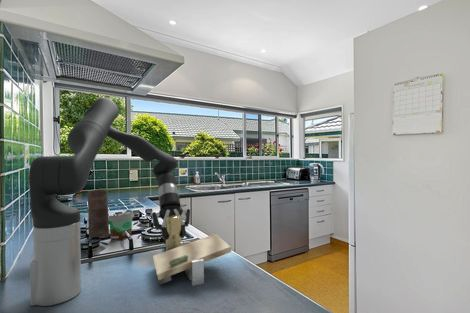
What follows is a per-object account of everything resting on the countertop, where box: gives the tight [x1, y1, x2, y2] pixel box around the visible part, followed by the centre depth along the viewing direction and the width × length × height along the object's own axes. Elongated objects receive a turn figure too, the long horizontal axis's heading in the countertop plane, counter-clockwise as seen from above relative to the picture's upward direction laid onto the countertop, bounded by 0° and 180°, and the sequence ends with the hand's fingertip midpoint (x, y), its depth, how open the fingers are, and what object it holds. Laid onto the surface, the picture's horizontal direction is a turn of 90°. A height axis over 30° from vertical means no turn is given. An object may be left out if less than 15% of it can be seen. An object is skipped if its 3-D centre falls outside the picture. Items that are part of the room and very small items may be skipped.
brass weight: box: [165, 215, 182, 251], centre depth 89 cm, size 5×5×12 cm
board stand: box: [180, 240, 205, 287], centre depth 73 cm, size 3×17×6 cm, turn 22°
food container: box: [108, 209, 135, 241], centre depth 105 cm, size 12×6×10 cm, turn 168°
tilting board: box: [152, 233, 232, 286], centre depth 73 cm, size 20×13×4 cm, turn 112°
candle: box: [87, 188, 110, 239], centre depth 105 cm, size 8×7×20 cm
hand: (174, 237), depth 88 cm, fingers closed on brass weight, 5 cm apart
